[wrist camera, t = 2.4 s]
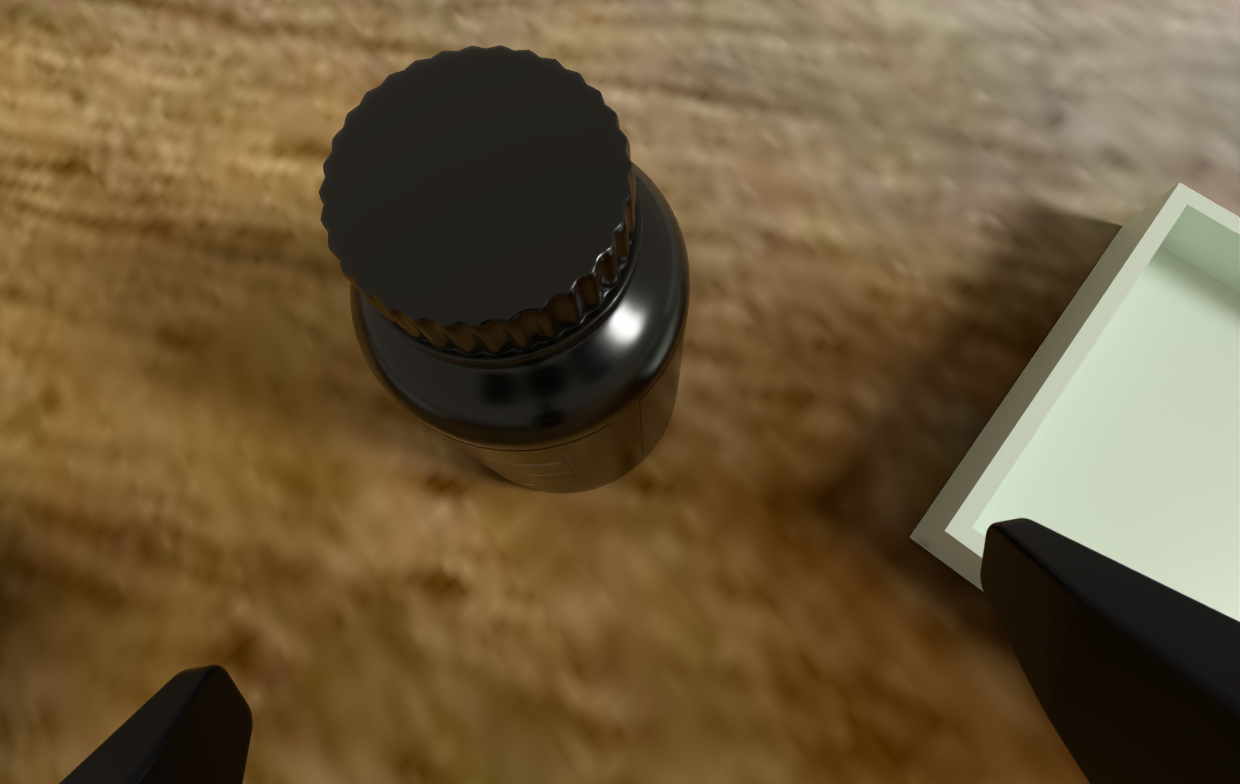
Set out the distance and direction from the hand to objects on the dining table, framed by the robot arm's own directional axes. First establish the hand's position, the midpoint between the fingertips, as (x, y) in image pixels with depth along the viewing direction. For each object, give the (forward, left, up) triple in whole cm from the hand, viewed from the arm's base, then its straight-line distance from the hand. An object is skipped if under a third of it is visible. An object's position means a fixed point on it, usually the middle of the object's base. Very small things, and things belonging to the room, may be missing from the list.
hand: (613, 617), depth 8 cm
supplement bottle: (+4, +5, -13) cm, 14 cm away
